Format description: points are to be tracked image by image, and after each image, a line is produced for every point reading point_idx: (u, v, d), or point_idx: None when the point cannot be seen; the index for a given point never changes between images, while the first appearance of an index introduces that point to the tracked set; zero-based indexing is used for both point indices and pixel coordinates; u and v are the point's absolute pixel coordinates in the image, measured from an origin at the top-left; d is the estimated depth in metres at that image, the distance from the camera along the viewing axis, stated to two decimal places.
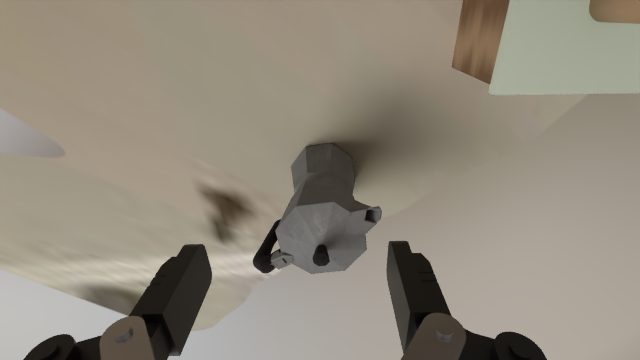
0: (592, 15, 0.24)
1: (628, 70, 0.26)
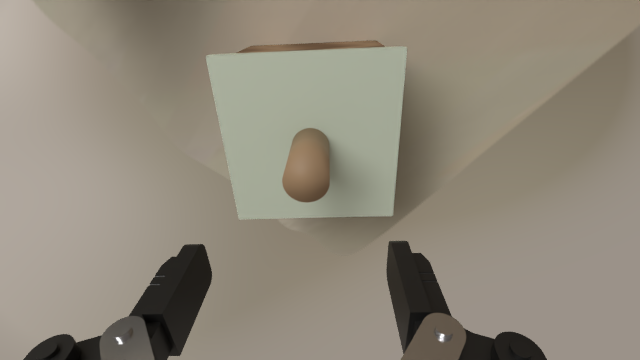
0: (297, 134, 0.24)
1: (253, 185, 0.27)
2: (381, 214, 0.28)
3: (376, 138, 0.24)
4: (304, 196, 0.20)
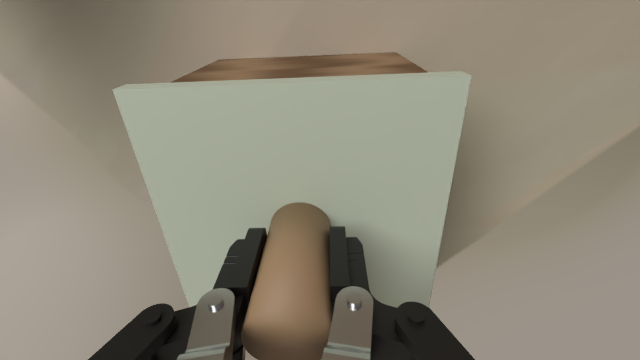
0: (278, 212, 0.15)
1: (213, 280, 0.17)
2: None
3: (407, 218, 0.15)
4: (284, 359, 0.11)
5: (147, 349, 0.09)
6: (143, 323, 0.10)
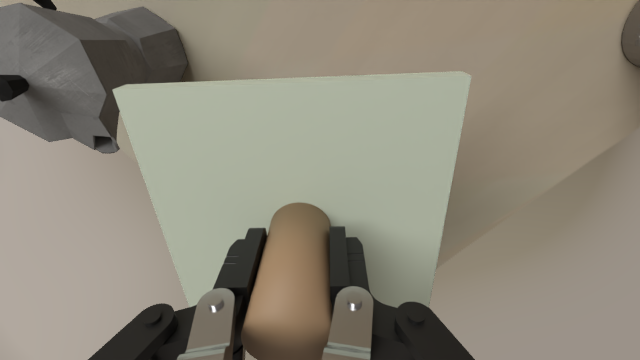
0: (278, 212, 0.15)
1: (213, 280, 0.17)
2: None
3: (407, 218, 0.15)
4: (284, 359, 0.11)
5: (147, 349, 0.09)
6: (143, 323, 0.10)
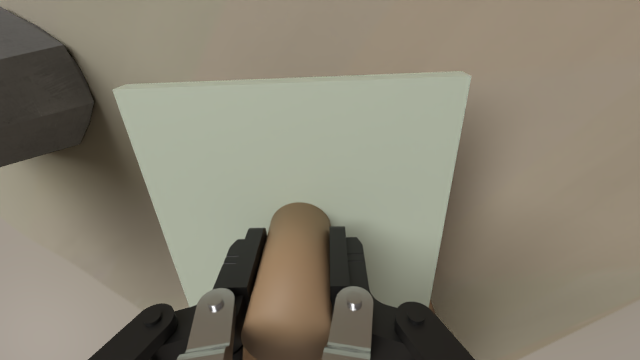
0: (278, 212, 0.15)
1: (213, 280, 0.17)
2: None
3: (407, 218, 0.15)
4: (284, 359, 0.11)
5: (147, 349, 0.09)
6: (143, 323, 0.10)
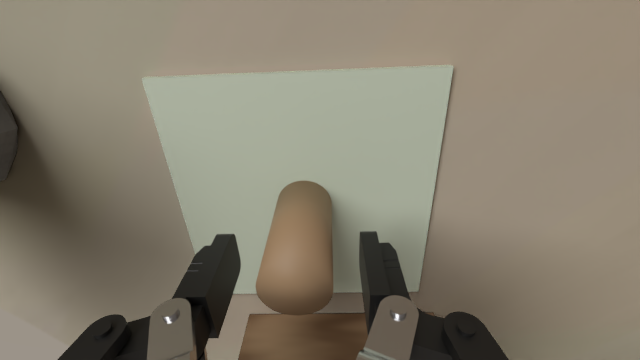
0: (284, 189, 0.17)
1: None
2: None
3: (399, 195, 0.17)
4: (292, 307, 0.13)
5: None
6: (93, 337, 0.09)
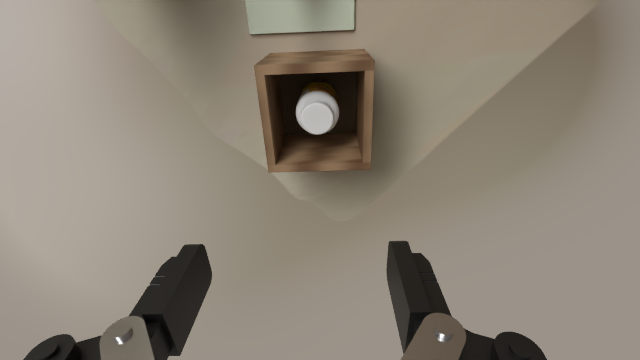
0: None
1: (260, 4, 0.40)
2: (346, 28, 0.41)
3: None
4: None
5: None
6: None
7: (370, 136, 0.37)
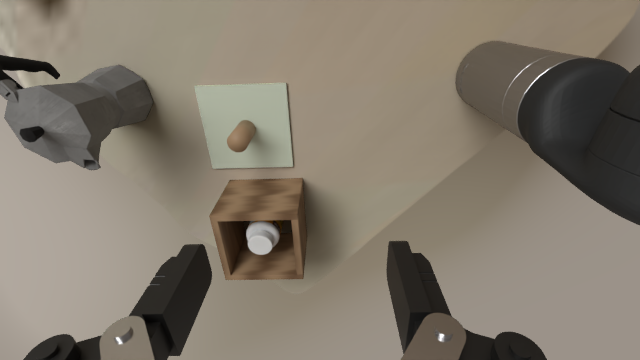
0: (239, 123, 0.50)
1: (219, 149, 0.52)
2: (287, 165, 0.54)
3: (278, 125, 0.50)
4: (237, 149, 0.46)
5: None
6: None
7: (300, 258, 0.49)
